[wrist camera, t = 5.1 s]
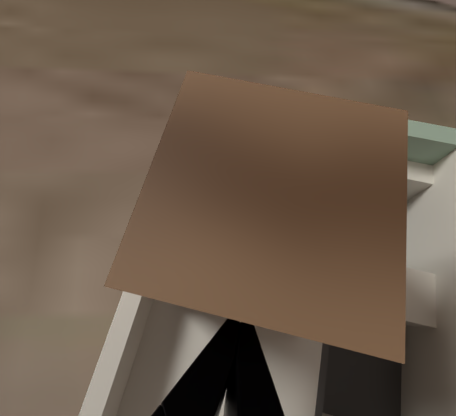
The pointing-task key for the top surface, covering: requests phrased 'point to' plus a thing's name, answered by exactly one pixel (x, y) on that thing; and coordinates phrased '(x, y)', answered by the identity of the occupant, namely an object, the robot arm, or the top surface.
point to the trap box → (308, 349)
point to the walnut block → (276, 214)
